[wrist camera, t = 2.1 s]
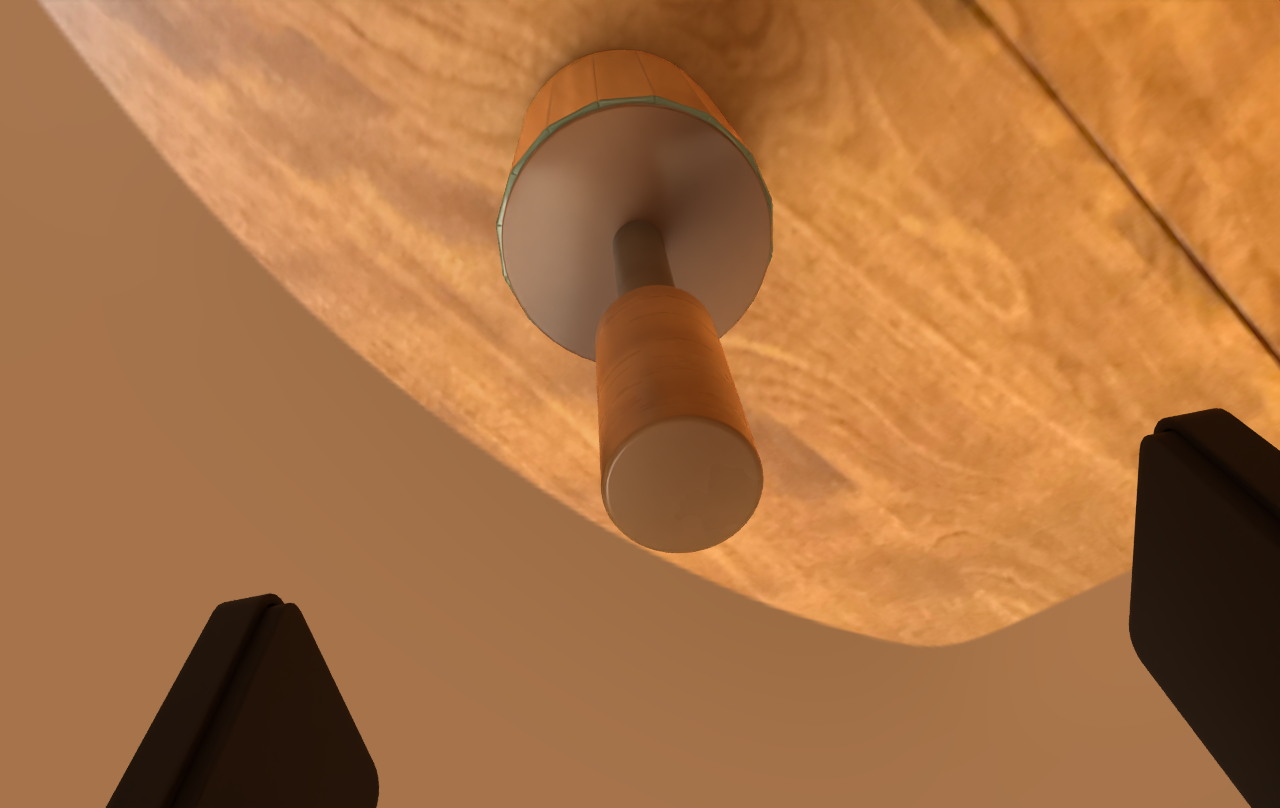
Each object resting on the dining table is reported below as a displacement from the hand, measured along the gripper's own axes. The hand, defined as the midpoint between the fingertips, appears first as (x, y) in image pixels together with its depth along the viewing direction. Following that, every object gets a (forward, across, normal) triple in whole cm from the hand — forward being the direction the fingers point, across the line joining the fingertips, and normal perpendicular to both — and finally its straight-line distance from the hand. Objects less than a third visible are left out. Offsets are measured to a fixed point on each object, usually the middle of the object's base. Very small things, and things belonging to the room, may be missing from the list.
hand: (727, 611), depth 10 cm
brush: (+21, 0, 0) cm, 21 cm away
